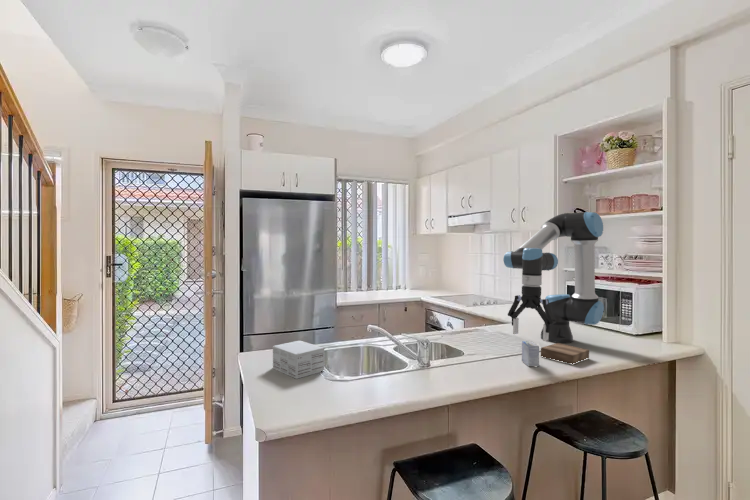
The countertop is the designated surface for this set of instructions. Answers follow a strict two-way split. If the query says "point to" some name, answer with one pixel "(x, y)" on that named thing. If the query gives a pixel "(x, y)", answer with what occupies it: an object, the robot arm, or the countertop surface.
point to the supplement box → (298, 359)
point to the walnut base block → (564, 353)
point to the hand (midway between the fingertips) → (530, 337)
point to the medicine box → (530, 353)
